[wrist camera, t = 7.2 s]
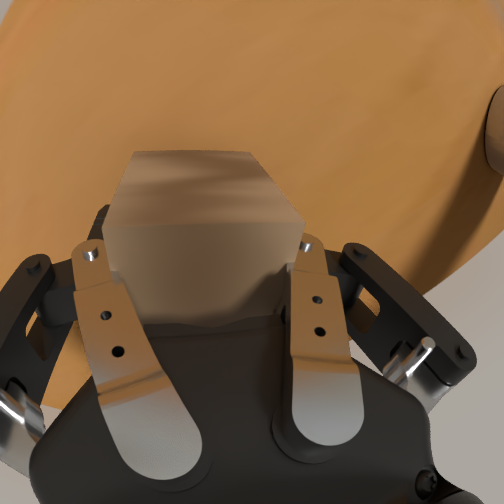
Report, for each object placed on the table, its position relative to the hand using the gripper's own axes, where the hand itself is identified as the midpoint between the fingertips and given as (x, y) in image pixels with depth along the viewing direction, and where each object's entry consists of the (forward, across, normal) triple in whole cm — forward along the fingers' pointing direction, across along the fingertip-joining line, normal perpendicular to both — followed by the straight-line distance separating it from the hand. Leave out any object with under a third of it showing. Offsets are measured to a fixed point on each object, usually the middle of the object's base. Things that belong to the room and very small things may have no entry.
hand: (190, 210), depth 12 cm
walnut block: (+1, 0, 0) cm, 1 cm away
